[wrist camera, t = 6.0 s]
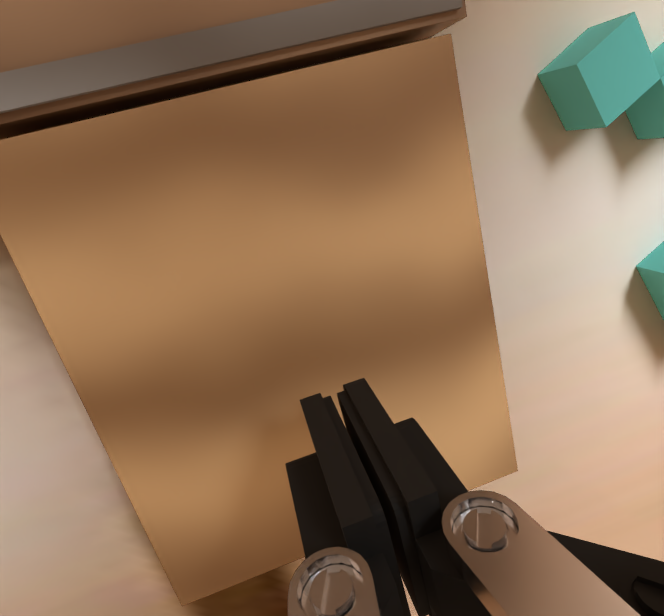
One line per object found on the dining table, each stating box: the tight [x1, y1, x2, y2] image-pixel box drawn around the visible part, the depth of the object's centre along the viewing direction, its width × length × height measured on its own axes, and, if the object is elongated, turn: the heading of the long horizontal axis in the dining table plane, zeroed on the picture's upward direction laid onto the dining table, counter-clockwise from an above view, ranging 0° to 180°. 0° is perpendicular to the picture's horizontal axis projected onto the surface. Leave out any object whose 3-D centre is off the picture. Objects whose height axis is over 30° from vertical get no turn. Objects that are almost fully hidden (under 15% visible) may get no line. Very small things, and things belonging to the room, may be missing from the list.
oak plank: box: [0, 34, 518, 606], centre depth 14 cm, size 14×12×2 cm
